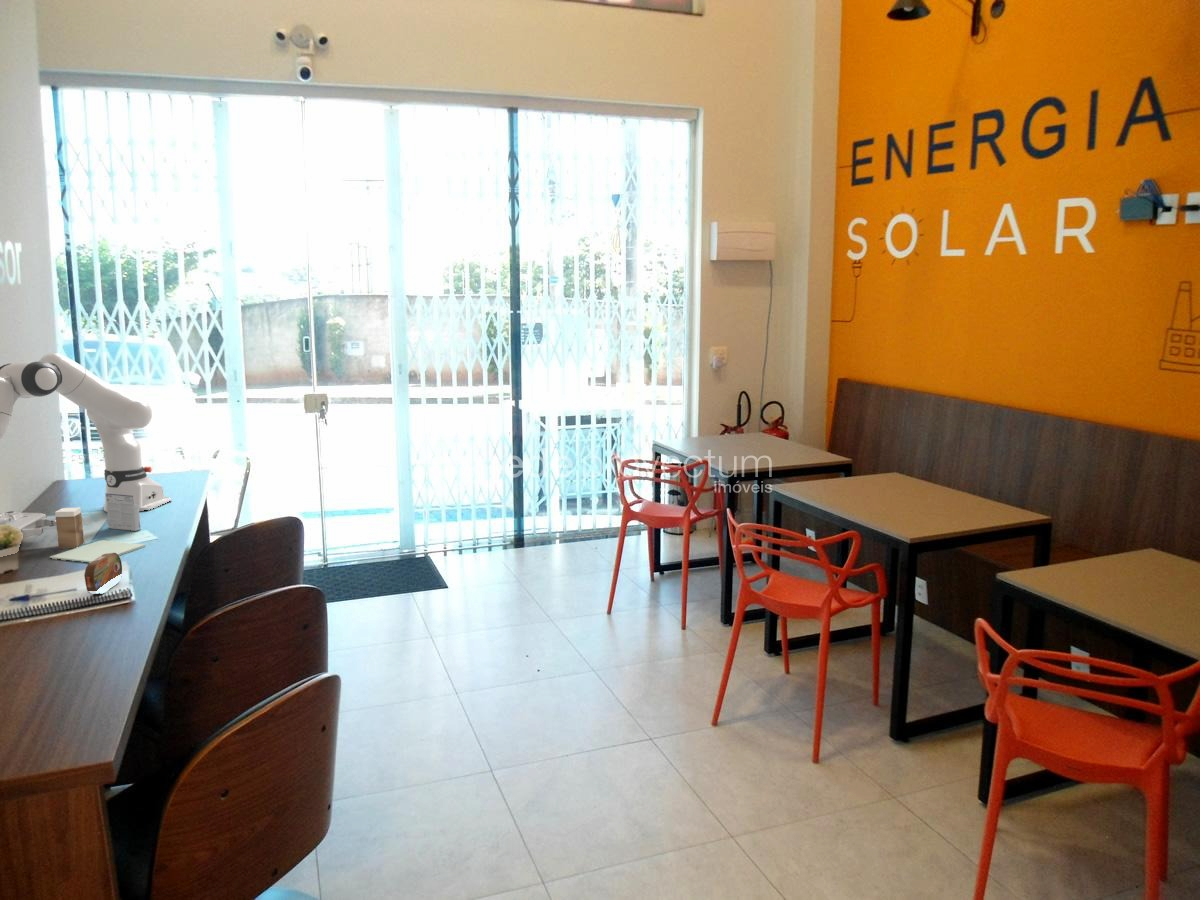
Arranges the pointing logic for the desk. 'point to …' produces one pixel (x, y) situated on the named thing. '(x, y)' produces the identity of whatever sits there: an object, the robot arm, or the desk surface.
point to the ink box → (122, 512)
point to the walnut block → (69, 527)
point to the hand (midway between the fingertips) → (49, 527)
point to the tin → (102, 571)
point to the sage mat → (97, 550)
